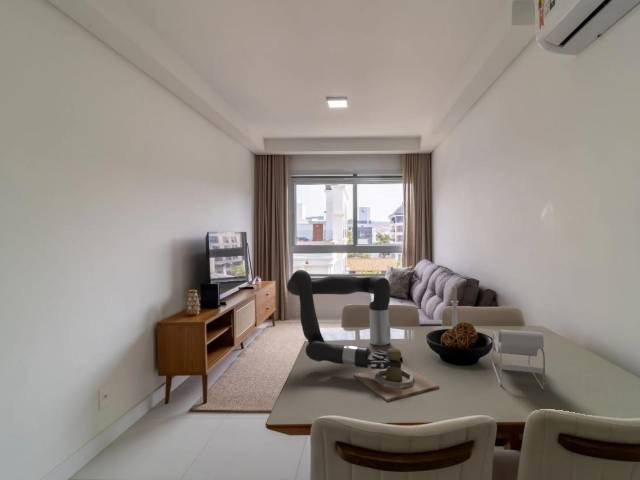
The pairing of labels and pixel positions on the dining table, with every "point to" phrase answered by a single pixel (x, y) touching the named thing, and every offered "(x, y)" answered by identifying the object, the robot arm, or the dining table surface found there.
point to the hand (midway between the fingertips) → (401, 362)
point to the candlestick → (454, 307)
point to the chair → (519, 350)
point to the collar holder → (395, 383)
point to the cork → (394, 372)
